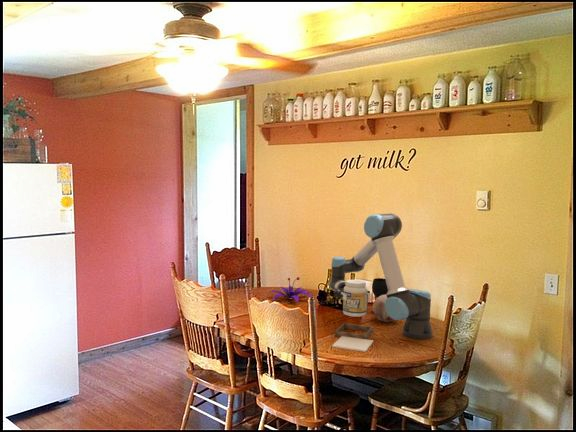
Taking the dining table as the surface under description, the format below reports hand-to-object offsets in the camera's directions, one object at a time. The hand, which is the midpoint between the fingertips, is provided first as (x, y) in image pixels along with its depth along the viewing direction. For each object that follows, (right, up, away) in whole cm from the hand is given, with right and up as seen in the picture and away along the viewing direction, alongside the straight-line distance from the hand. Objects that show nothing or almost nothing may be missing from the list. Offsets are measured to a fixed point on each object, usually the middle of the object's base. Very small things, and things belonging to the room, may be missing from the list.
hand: (357, 297), depth 262 cm
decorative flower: (-34, -14, +76) cm, 84 cm away
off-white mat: (-4, -21, -12) cm, 24 cm away
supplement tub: (-1, -9, +4) cm, 10 cm away
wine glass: (+20, -17, +48) cm, 55 cm away
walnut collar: (-1, -19, +5) cm, 20 cm away
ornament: (+20, -18, +30) cm, 40 cm away
